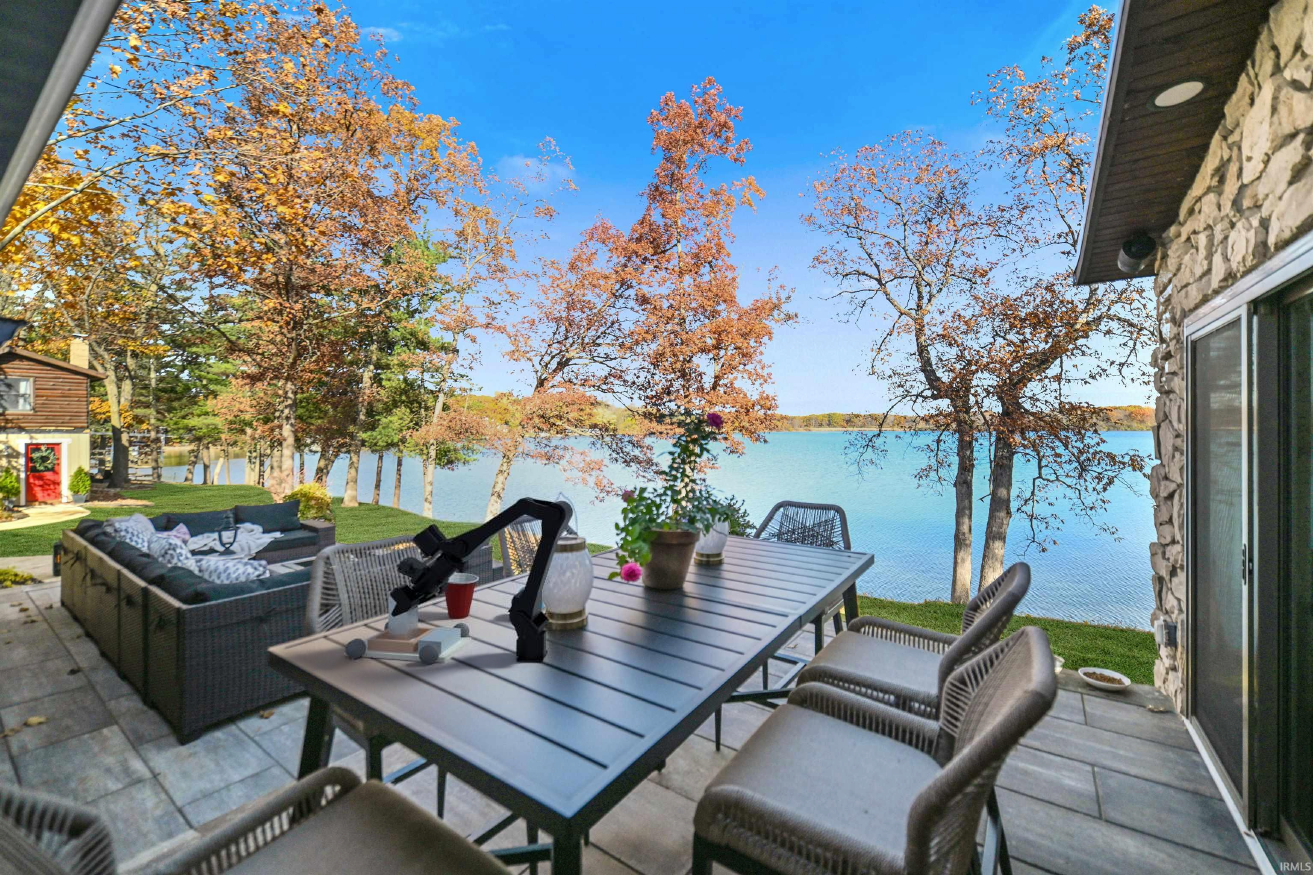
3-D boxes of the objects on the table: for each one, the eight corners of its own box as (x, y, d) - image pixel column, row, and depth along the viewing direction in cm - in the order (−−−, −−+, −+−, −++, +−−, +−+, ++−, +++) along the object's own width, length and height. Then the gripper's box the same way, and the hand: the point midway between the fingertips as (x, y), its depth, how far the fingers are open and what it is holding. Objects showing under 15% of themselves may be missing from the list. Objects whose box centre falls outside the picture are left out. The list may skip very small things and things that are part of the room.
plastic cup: (471, 622, 164) (472, 581, 165) (434, 621, 165) (435, 580, 165) (483, 611, 175) (483, 572, 175) (448, 610, 175) (449, 571, 176)
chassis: (473, 640, 150) (474, 623, 150) (441, 665, 133) (441, 646, 133) (383, 634, 153) (383, 617, 153) (339, 657, 136) (340, 639, 136)
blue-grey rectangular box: (417, 635, 145) (418, 587, 145) (406, 642, 140) (407, 592, 140) (399, 634, 146) (400, 586, 146) (388, 641, 141) (388, 591, 141)
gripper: (438, 541, 152) (399, 580, 153) (398, 554, 134) (354, 598, 135) (465, 571, 151) (426, 610, 152) (428, 589, 133) (384, 633, 134)
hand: (398, 612), depth 143 cm, fingers closed on blue-grey rectangular box, 5 cm apart
